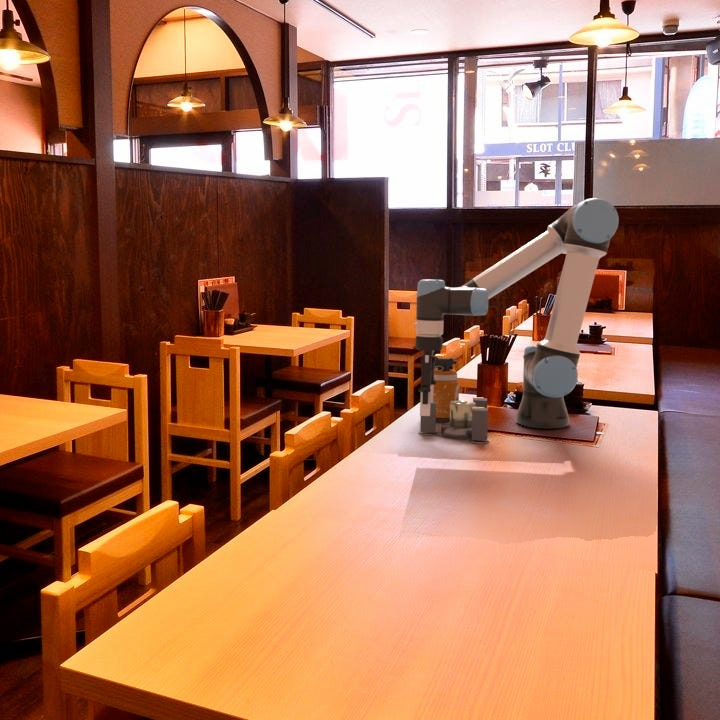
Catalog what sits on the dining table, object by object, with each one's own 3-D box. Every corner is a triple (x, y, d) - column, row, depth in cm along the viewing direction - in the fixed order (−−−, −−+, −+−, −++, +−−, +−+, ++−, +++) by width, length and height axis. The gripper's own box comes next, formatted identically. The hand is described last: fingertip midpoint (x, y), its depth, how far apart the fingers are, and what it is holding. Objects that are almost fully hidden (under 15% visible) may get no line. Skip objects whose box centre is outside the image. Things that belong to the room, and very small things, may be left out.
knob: (486, 425, 224) (487, 396, 223) (486, 428, 220) (487, 398, 219) (472, 425, 224) (472, 396, 223) (472, 427, 220) (472, 398, 220)
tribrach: (488, 428, 224) (489, 395, 223) (489, 444, 203) (490, 408, 202) (421, 425, 227) (421, 393, 226) (415, 441, 206) (415, 406, 205)
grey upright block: (435, 429, 218) (436, 399, 217) (434, 432, 214) (435, 402, 213) (421, 429, 218) (421, 399, 217) (419, 431, 215) (420, 401, 214)
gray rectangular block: (486, 437, 208) (487, 406, 207) (487, 440, 204) (487, 408, 203) (471, 436, 208) (472, 405, 207) (471, 440, 204) (472, 408, 203)
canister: (457, 426, 226) (458, 358, 224) (419, 425, 228) (420, 358, 226) (459, 421, 235) (460, 355, 233) (423, 419, 237) (424, 354, 235)
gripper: (419, 331, 226) (416, 403, 228) (411, 338, 201) (409, 418, 204) (444, 332, 225) (442, 404, 227) (440, 339, 200) (437, 420, 203)
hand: (426, 411), depth 216 cm, fingers open, 13 cm apart
